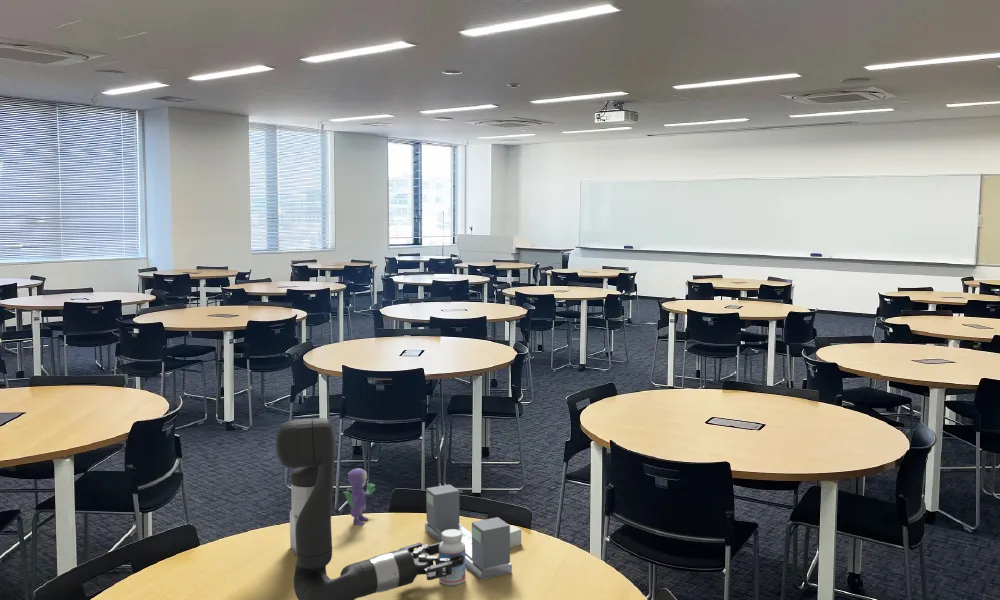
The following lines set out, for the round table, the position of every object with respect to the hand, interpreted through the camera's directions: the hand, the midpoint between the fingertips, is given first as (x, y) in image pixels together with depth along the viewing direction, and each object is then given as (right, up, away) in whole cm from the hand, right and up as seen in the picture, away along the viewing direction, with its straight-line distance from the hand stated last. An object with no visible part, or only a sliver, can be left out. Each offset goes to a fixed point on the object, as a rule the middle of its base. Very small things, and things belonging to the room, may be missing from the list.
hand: (452, 552), depth 170 cm
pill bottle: (0, -7, 0) cm, 7 cm away
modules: (+2, -3, +17) cm, 18 cm away
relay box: (+13, -5, +21) cm, 25 cm away
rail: (+2, -5, +17) cm, 18 cm away
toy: (-29, -4, +37) cm, 47 cm away
